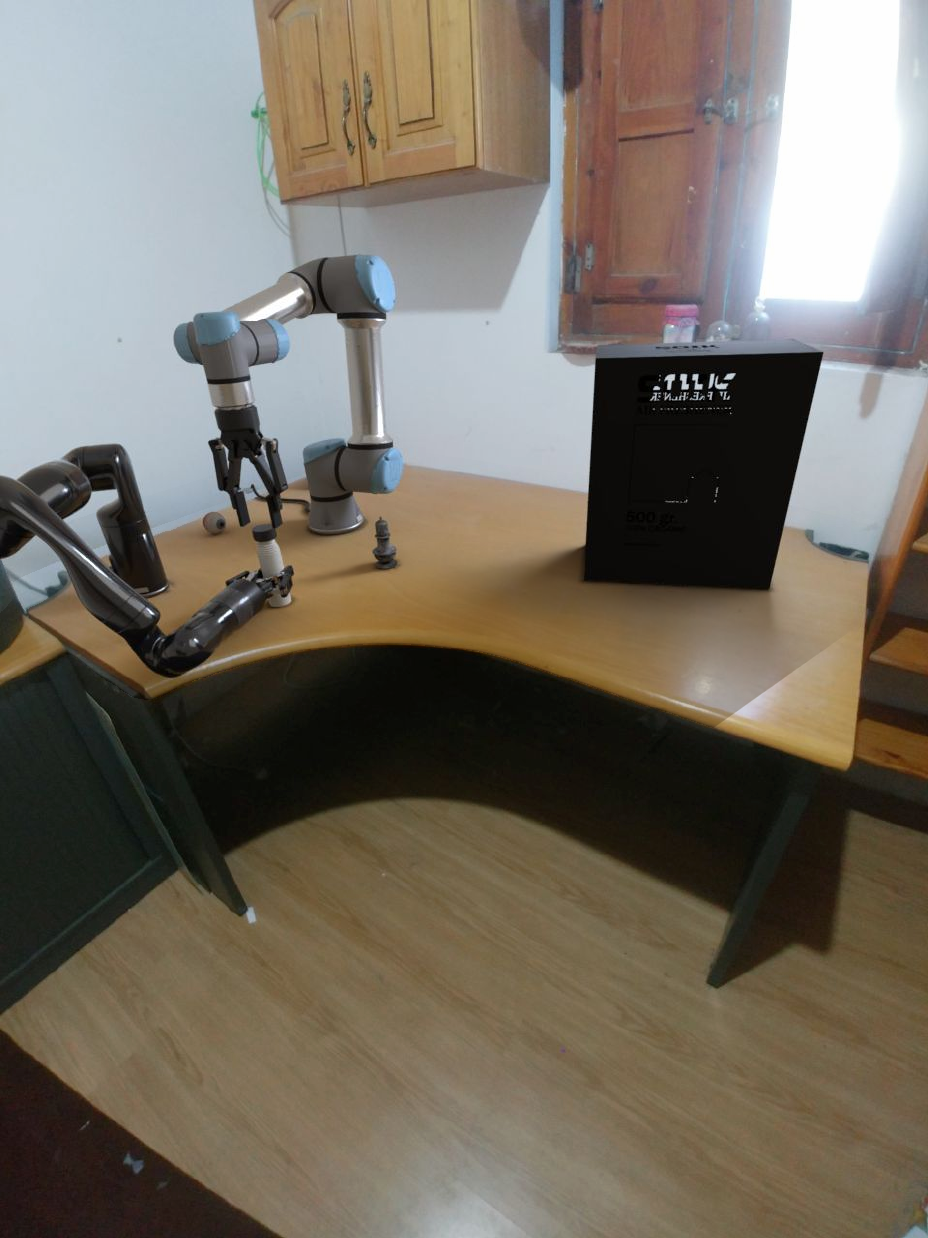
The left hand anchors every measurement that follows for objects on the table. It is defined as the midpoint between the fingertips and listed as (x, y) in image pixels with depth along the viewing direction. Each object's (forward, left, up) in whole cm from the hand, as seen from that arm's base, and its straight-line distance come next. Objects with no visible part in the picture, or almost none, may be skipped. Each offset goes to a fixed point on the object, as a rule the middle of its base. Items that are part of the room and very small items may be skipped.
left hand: (280, 568), depth 129 cm
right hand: (0, -3, +11) cm, 11 cm away
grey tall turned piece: (+16, +19, -7) cm, 26 cm away
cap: (0, -3, +10) cm, 10 cm away
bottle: (0, -3, -7) cm, 7 cm away
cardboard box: (+81, +29, -7) cm, 86 cm away
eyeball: (-39, +31, -7) cm, 51 cm away
